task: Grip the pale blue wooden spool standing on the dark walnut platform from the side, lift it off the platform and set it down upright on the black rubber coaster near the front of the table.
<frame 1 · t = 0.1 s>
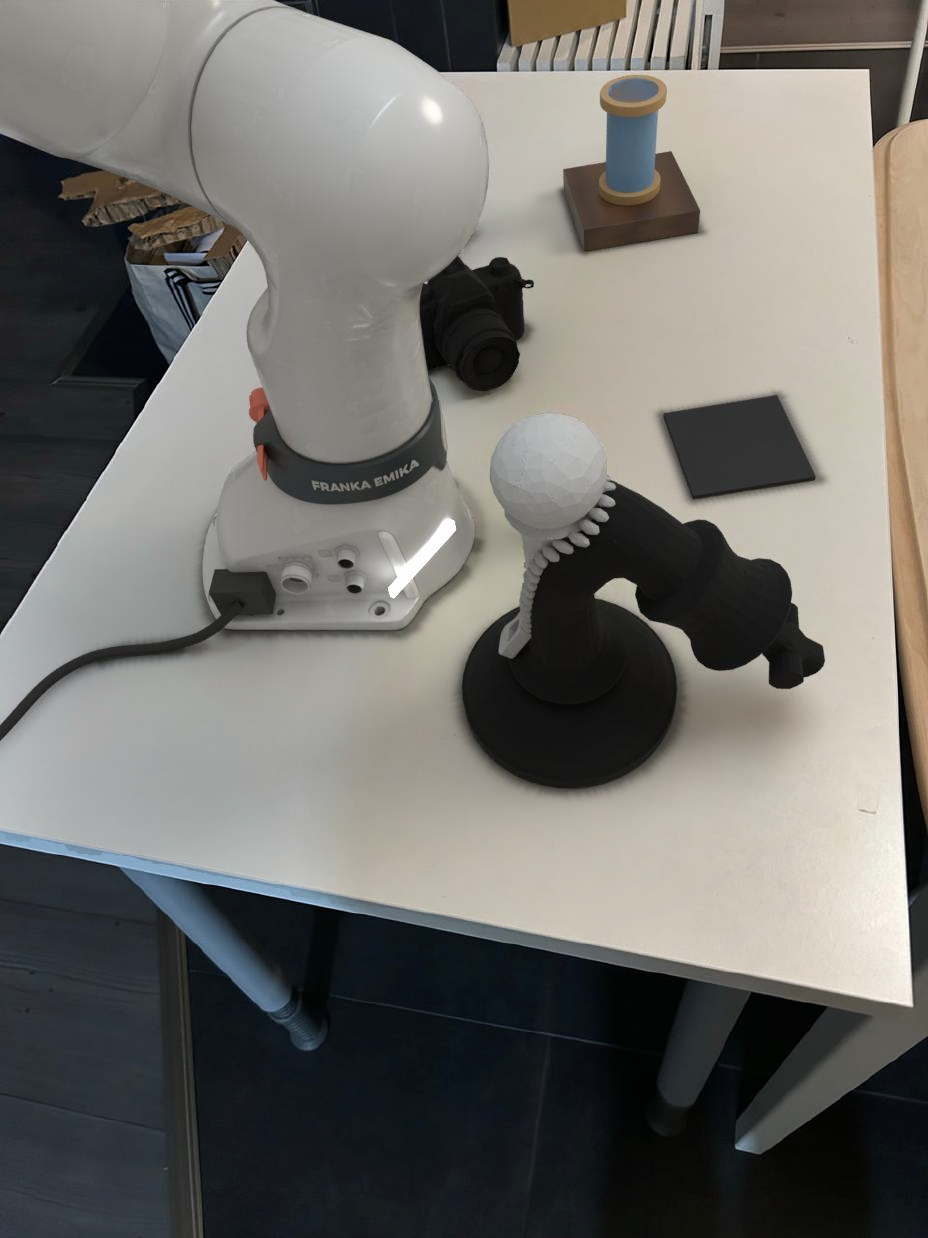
film camera: (468, 366, 88), on the table
spool: (629, 188, 97), point 2 cm above the table, touching platform
platform: (628, 210, 99), on the table
coaster: (736, 446, 78), on the table
sculpture: (628, 695, 65), on the table
pink toy car: (437, 249, 99), on the table
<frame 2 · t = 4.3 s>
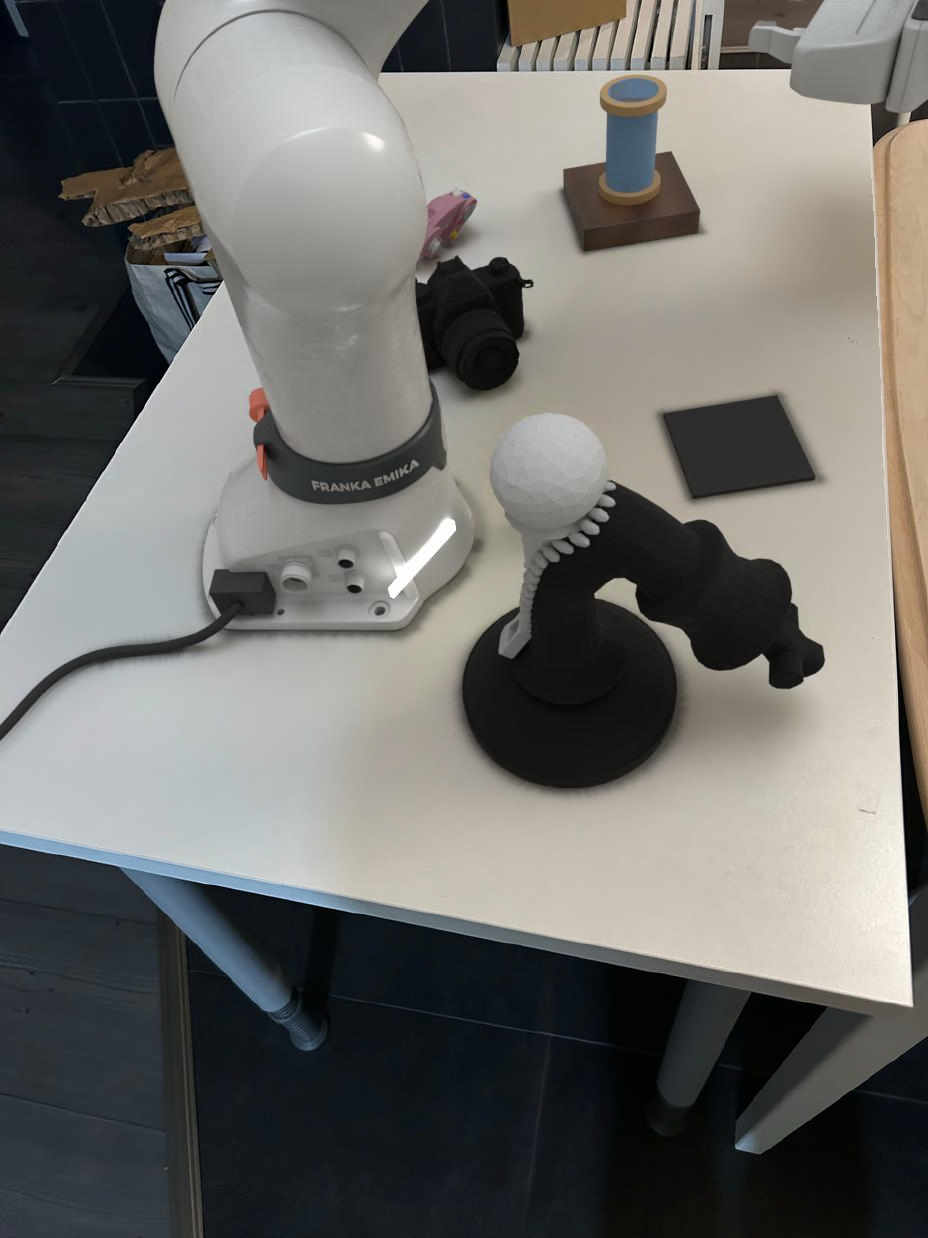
hand: (768, 9, 78), 21 cm above the table, tool horizontal, fingers open, 8 cm apart
nothing on the table moved.
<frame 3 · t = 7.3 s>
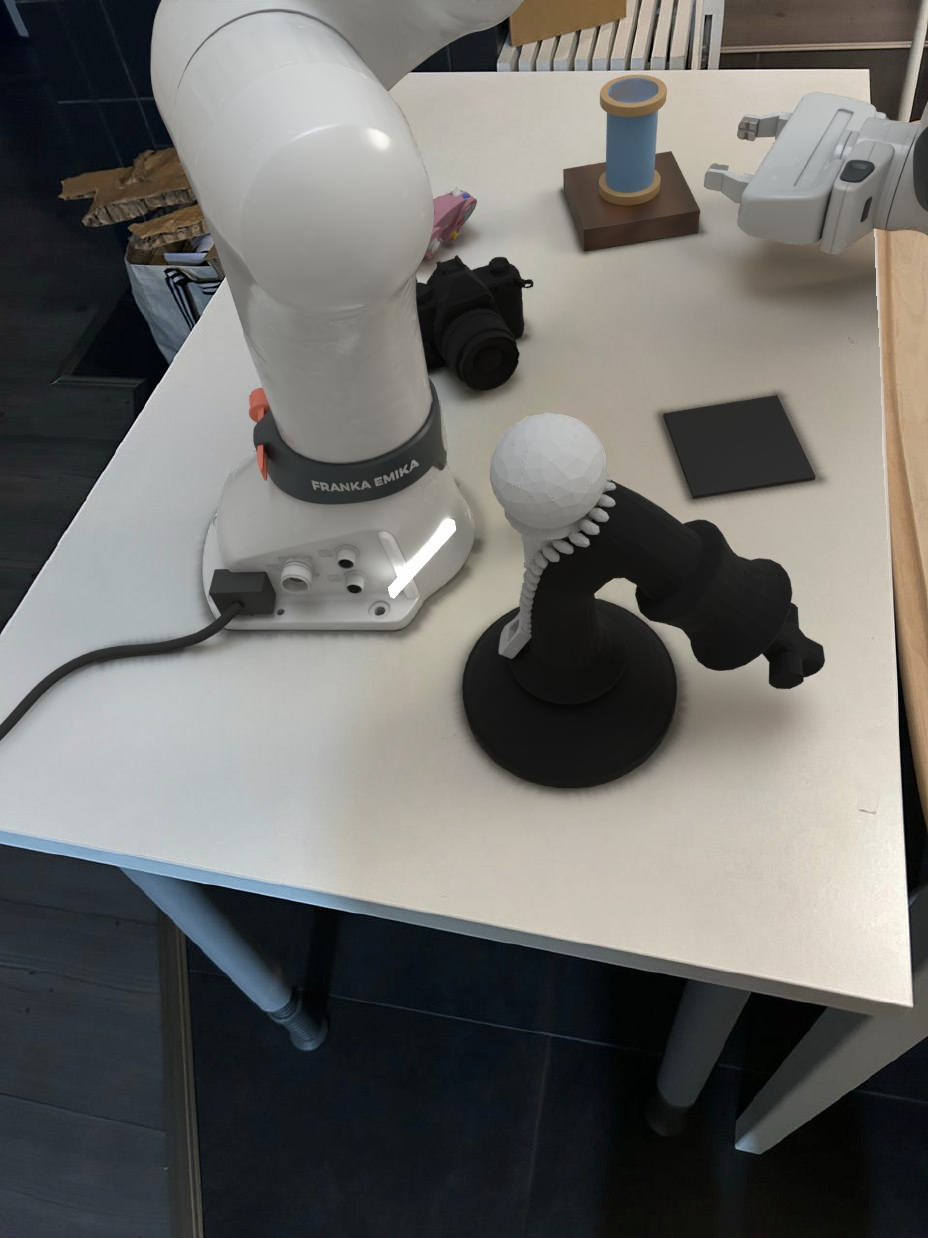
hand: (723, 150, 89), 8 cm above the table, tool horizontal, fingers open, 8 cm apart
nothing on the table moved.
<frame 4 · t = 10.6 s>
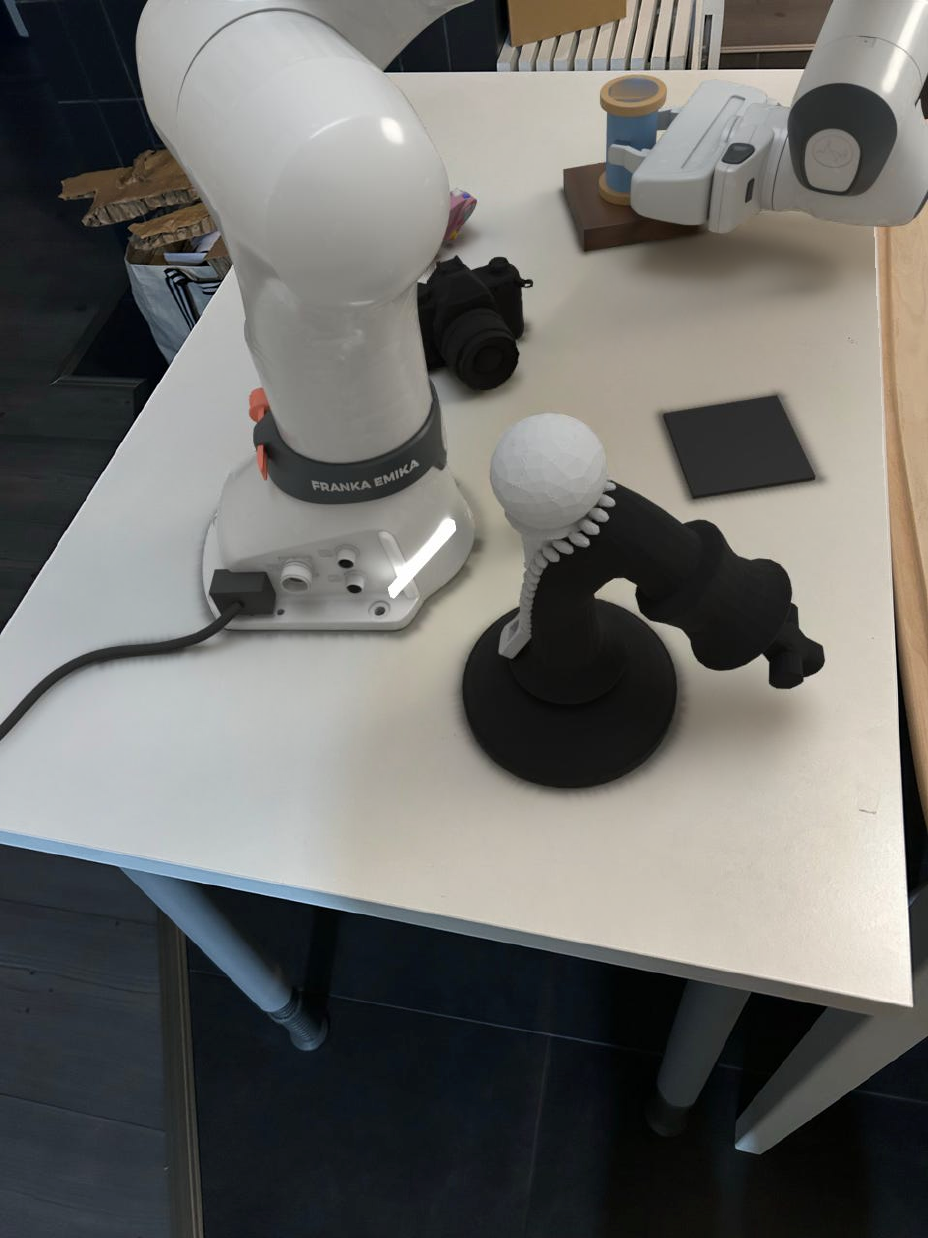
hand: (622, 135, 93), 8 cm above the table, tool horizontal, fingers closed on spool, 5 cm apart
spool: (629, 188, 97), point 3 cm above the table, touching gripper, platform
everything else where it was.
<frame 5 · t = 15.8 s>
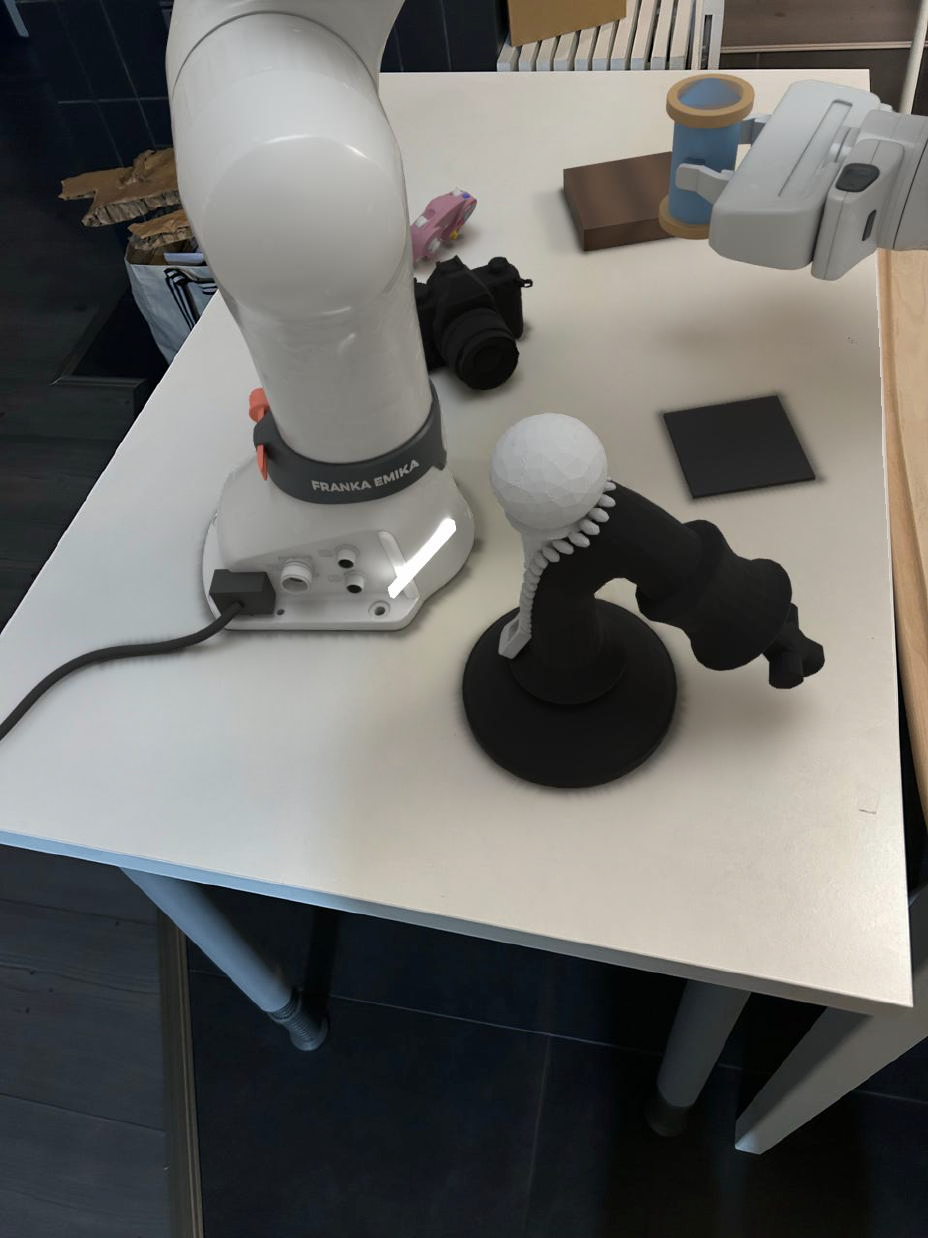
hand: (693, 151, 73), 17 cm above the table, tool horizontal, fingers closed on spool, 5 cm apart
spool: (697, 217, 77), point 12 cm above the table, touching gripper
everything else where it was.
when the fingers open (6 cm above the table, at t = 21.4 s): spool stays where it is, resting on coaster.
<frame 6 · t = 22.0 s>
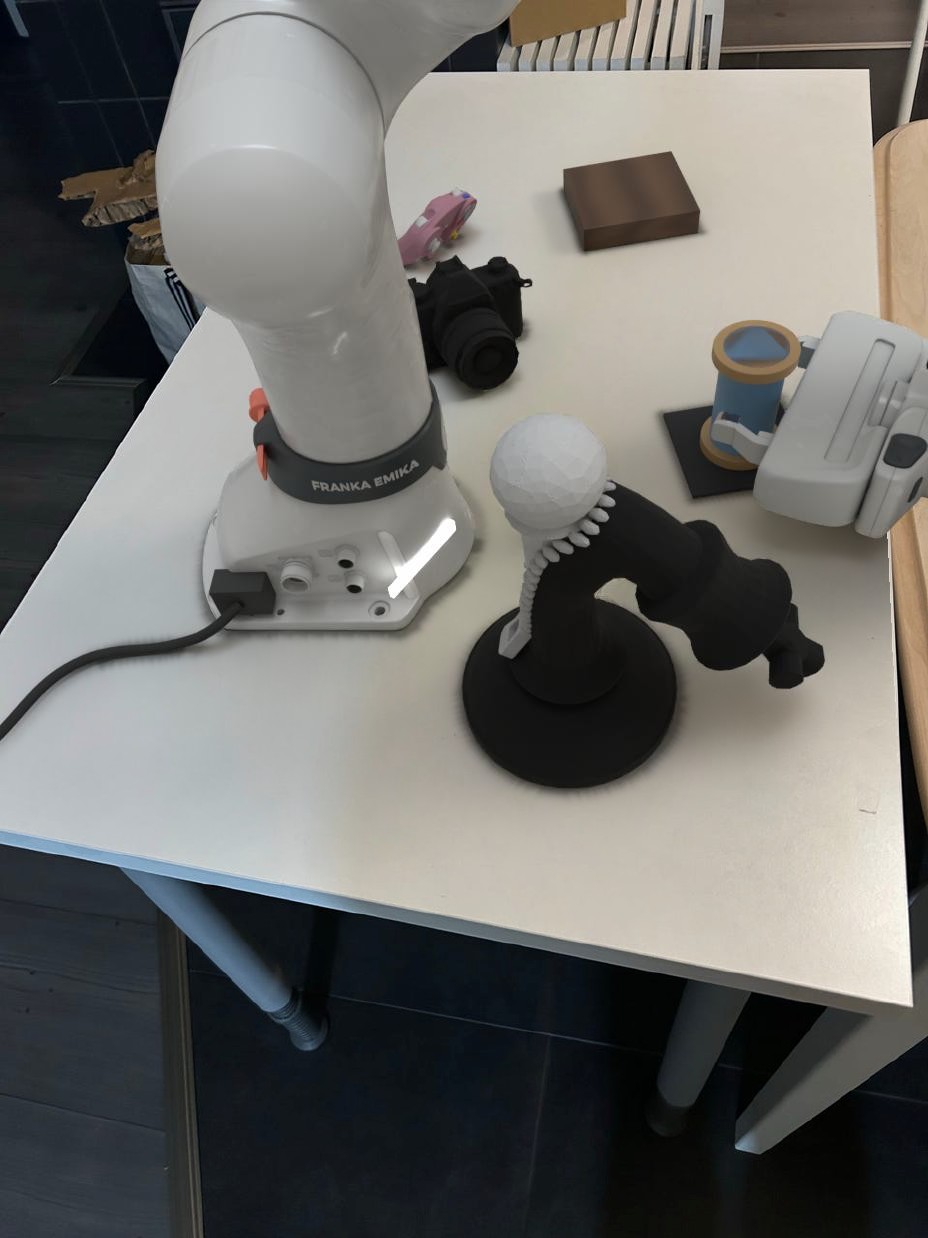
hand: (735, 385, 73), 6 cm above the table, tool horizontal, fingers open, 8 cm apart
spool: (738, 443, 77), resting on coaster
everything else where it was.
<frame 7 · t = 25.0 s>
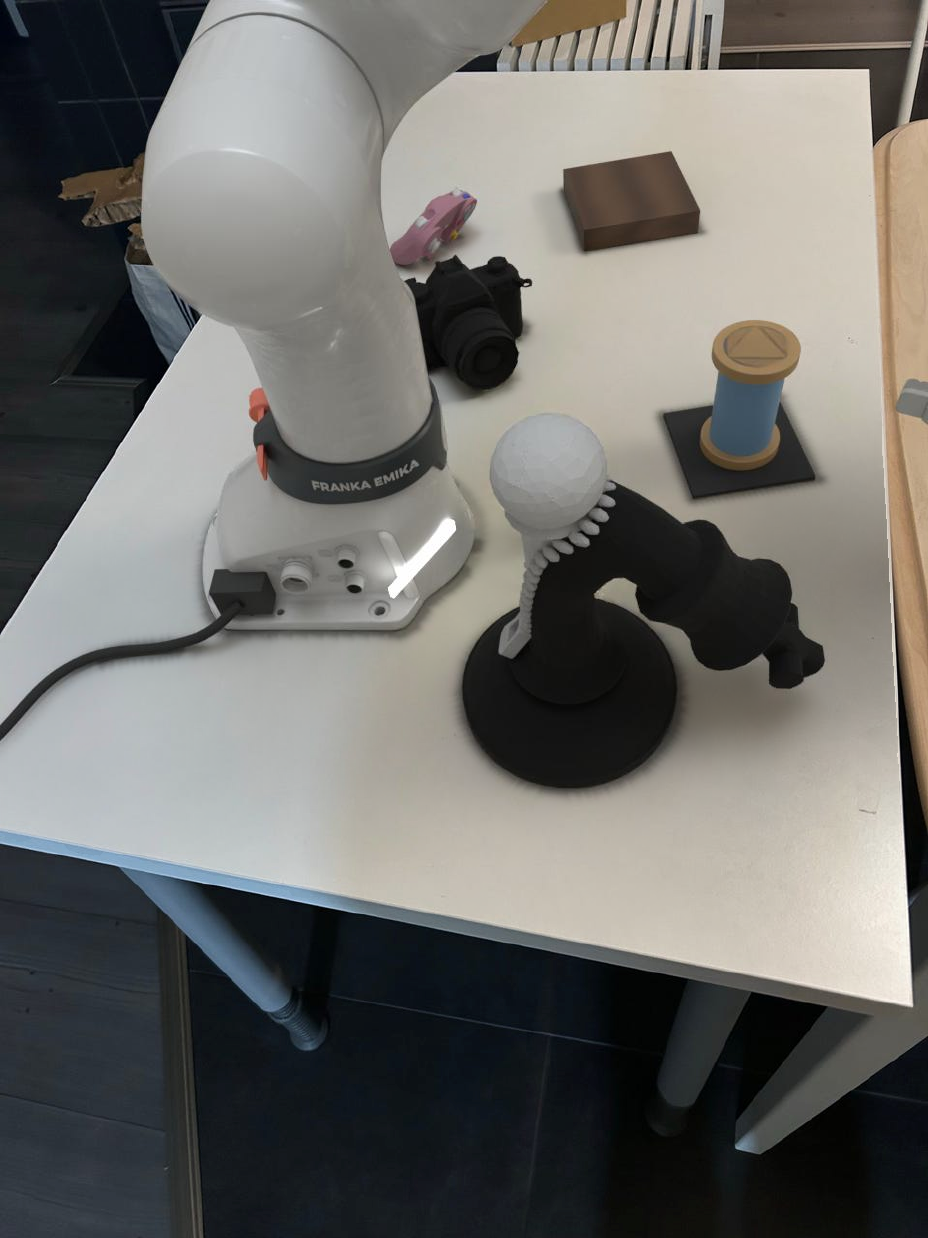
hand: (917, 350, 63), 13 cm above the table, tool horizontal, fingers open, 8 cm apart
nothing on the table moved.
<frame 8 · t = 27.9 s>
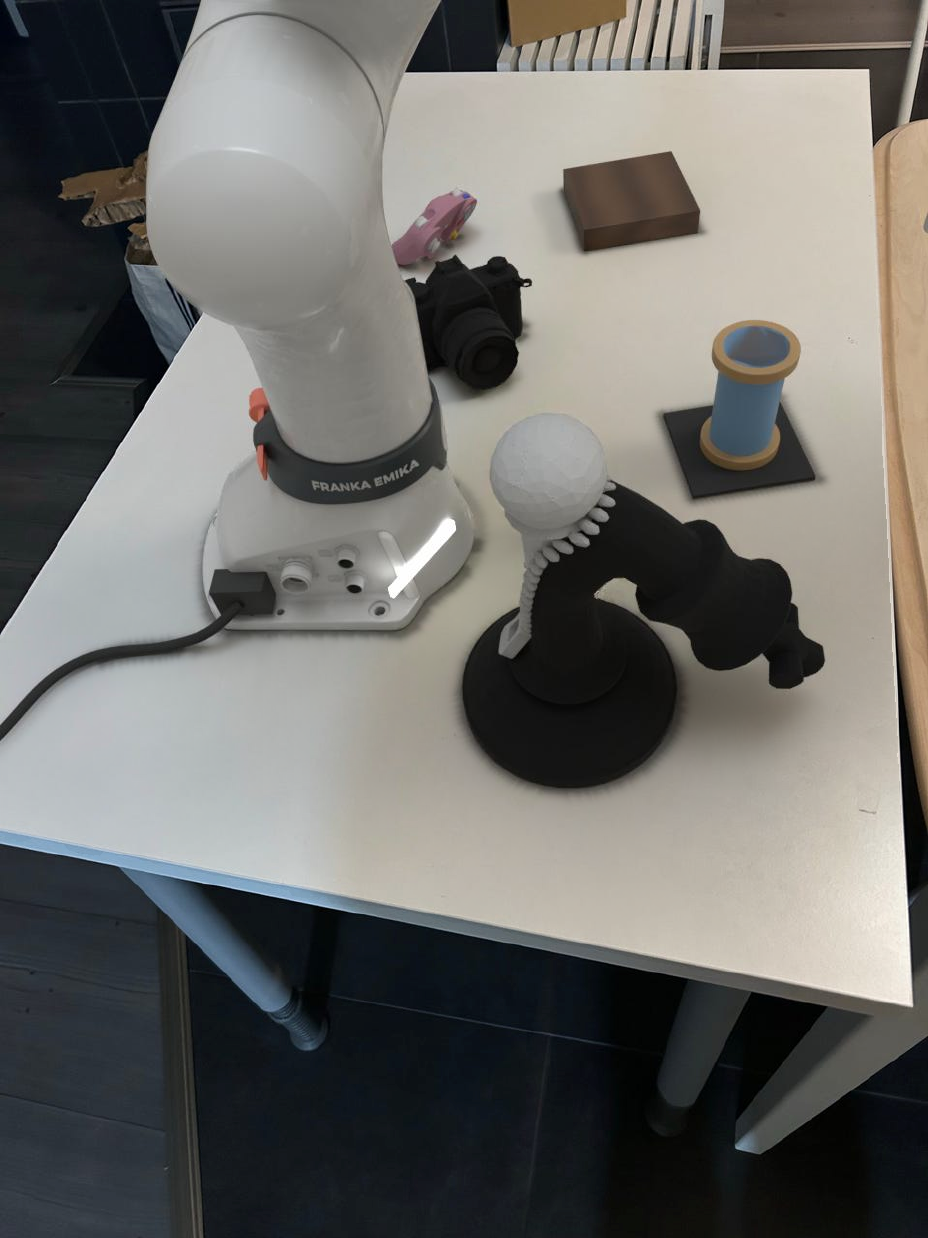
nothing on the table moved.
at the end: spool inside the target area on the coaster (0.2 cm from its centre), point 0.4 cm above the coaster's base; spool touching coaster; spool tilted 0° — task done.
